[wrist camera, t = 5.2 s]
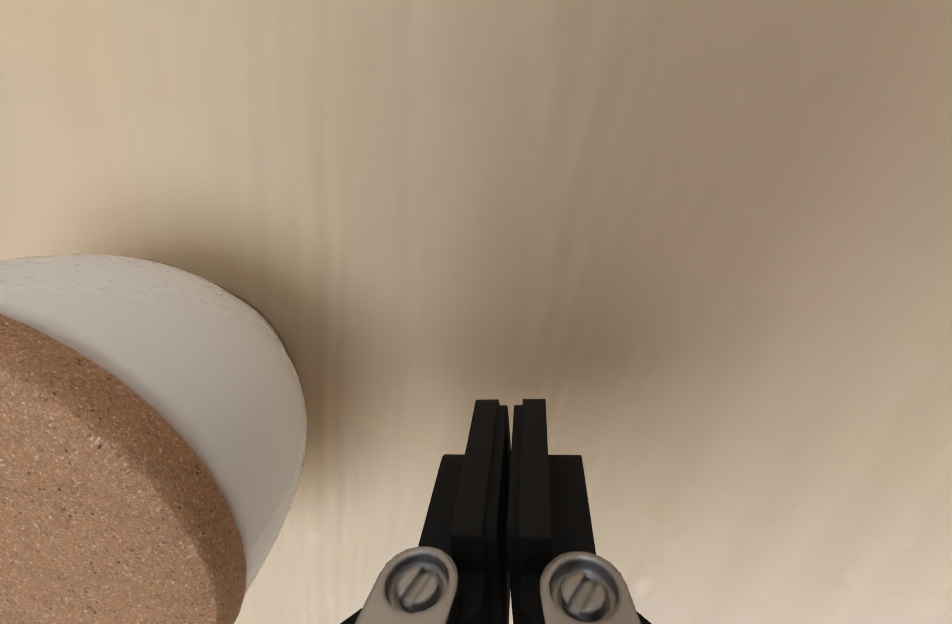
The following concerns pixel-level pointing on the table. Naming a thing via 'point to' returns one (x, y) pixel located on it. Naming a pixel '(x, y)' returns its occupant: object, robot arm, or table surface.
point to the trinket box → (138, 443)
